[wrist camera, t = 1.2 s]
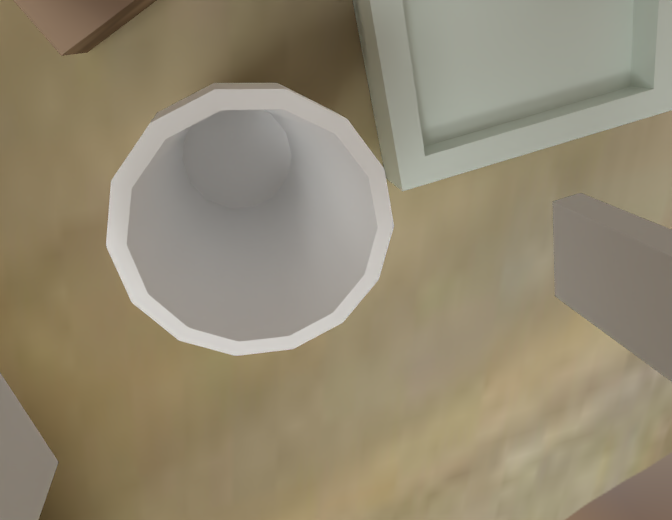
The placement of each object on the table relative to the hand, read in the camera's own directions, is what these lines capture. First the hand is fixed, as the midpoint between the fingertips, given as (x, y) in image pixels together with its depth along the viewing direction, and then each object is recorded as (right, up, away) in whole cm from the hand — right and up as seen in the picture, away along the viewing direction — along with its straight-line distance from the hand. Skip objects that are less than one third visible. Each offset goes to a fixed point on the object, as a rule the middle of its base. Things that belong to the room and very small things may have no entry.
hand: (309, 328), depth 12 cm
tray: (+10, +17, +16) cm, 25 cm away
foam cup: (-5, +8, +17) cm, 19 cm away
